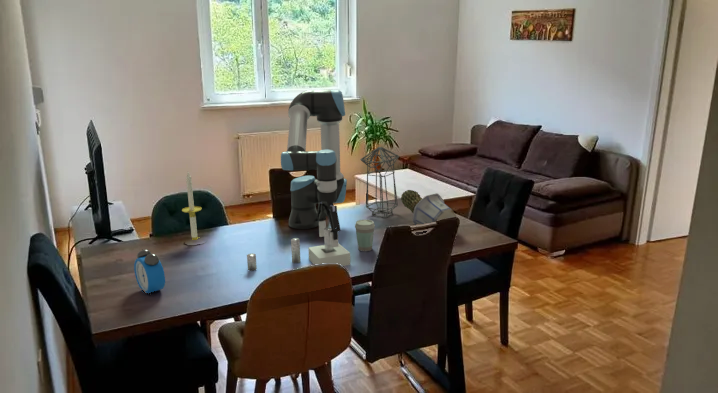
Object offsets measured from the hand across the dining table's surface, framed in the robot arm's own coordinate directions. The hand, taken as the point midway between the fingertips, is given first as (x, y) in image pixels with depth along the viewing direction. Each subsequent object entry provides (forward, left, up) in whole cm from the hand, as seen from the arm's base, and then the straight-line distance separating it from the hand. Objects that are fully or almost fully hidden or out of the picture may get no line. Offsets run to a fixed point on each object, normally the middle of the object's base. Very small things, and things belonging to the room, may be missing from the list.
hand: (328, 241), depth 225 cm
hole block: (0, 0, -9) cm, 9 cm away
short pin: (-6, -30, -9) cm, 32 cm away
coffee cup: (-7, +19, -9) cm, 22 cm away
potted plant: (-20, +56, -9) cm, 60 cm away
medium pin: (-6, -12, -9) cm, 16 cm away
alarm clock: (-2, -68, -9) cm, 68 cm away
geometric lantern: (-48, +46, -9) cm, 67 cm away
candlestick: (-48, -46, -9) cm, 67 cm away
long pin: (0, 0, -9) cm, 9 cm away
